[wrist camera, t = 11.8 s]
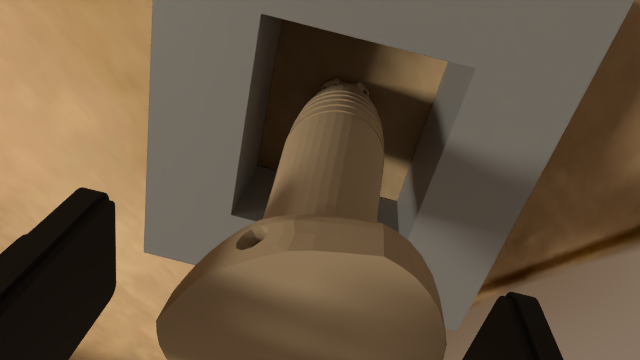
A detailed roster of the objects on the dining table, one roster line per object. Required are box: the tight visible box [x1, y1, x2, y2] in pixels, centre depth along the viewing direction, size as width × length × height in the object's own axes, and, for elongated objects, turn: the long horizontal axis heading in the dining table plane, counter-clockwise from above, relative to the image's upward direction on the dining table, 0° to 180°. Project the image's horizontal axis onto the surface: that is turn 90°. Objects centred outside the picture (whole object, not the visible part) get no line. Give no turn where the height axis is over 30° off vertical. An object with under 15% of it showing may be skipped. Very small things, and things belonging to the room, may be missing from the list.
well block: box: [144, 0, 634, 331], centre depth 21 cm, size 16×16×5 cm
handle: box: [156, 78, 446, 360], centre depth 16 cm, size 5×6×15 cm
